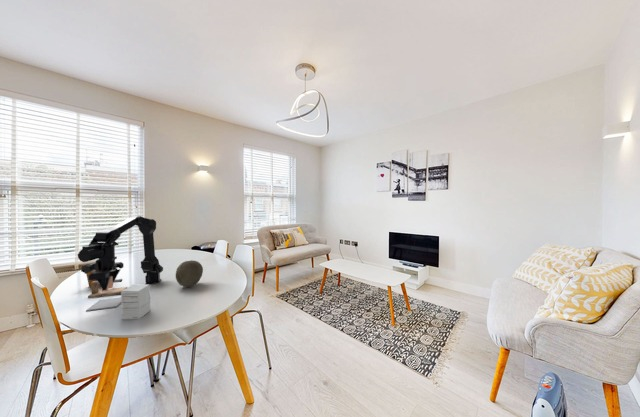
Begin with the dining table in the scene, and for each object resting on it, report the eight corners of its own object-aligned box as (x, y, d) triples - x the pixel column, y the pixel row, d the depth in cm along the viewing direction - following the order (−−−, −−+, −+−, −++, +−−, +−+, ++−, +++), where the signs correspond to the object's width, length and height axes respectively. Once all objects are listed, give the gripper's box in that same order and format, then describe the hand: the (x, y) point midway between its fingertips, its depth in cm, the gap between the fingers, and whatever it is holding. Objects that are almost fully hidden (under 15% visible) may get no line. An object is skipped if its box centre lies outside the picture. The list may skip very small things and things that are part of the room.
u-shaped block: (112, 287, 111) (112, 276, 111) (107, 291, 106) (106, 279, 106) (107, 287, 110) (107, 276, 110) (101, 291, 105) (101, 280, 105)
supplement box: (133, 311, 102) (133, 284, 101) (150, 310, 103) (150, 284, 102) (120, 319, 95) (120, 290, 94) (139, 319, 95) (138, 290, 95)
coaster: (126, 297, 115) (126, 296, 115) (116, 307, 105) (116, 306, 105) (99, 301, 111) (99, 299, 111) (86, 311, 101) (86, 310, 101)
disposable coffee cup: (111, 283, 133) (111, 264, 133) (91, 289, 124) (90, 268, 124) (101, 281, 136) (101, 262, 136) (81, 287, 127) (80, 267, 127)
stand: (88, 297, 115) (87, 284, 114) (96, 291, 122) (96, 279, 122) (120, 294, 120) (120, 281, 119) (127, 288, 127) (127, 276, 127)
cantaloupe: (204, 287, 130) (204, 262, 130) (176, 292, 123) (175, 265, 122) (201, 279, 142) (201, 256, 142) (175, 284, 134) (175, 260, 134)
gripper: (96, 253, 113) (97, 282, 114) (71, 263, 96) (72, 298, 96) (123, 251, 117) (124, 280, 118) (104, 260, 100) (105, 294, 100)
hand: (107, 287), depth 108 cm, fingers closed on u-shaped block, 5 cm apart
